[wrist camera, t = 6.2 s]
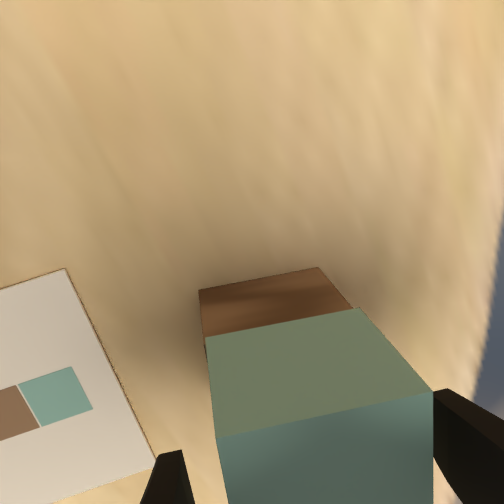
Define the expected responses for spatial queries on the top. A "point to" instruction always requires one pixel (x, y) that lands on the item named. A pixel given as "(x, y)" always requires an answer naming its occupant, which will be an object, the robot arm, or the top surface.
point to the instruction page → (59, 399)
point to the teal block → (320, 414)
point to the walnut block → (268, 302)
